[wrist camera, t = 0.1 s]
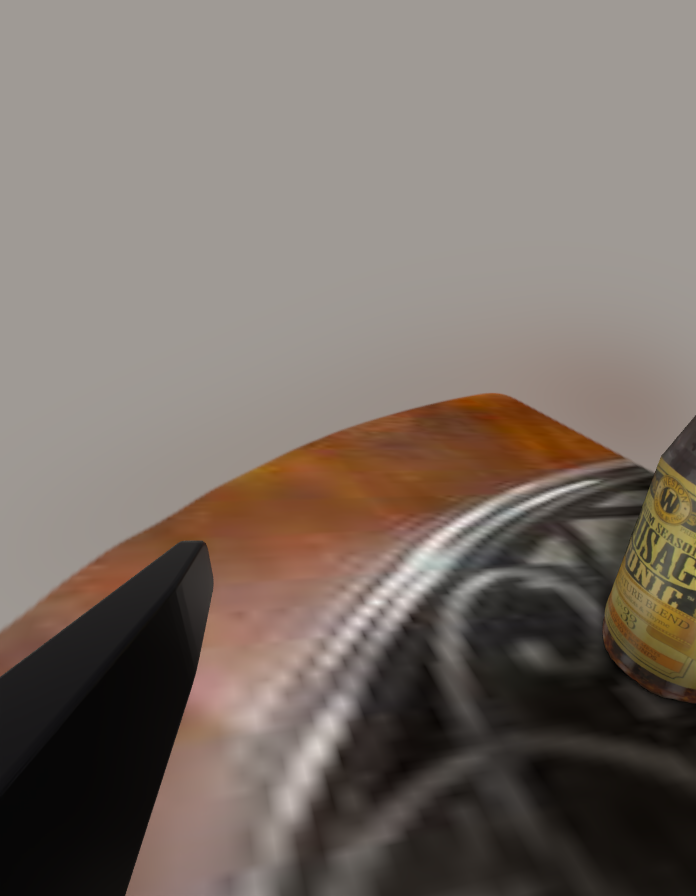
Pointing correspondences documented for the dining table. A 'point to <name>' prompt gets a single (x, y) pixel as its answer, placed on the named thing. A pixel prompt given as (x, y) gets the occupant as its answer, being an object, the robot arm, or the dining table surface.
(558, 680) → the dining table surface
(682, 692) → the sauce bottle
